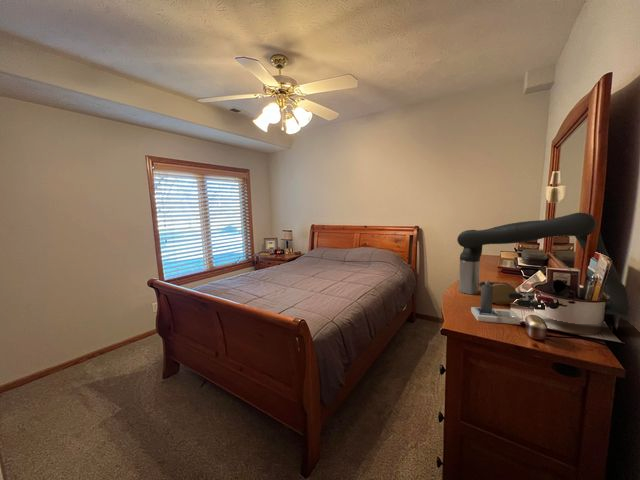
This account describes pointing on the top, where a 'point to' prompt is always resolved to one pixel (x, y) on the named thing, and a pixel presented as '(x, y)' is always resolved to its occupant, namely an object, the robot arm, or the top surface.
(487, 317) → the duct plate
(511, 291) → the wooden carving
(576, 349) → the top surface
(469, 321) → the top surface
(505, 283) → the carrying case or bag
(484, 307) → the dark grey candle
